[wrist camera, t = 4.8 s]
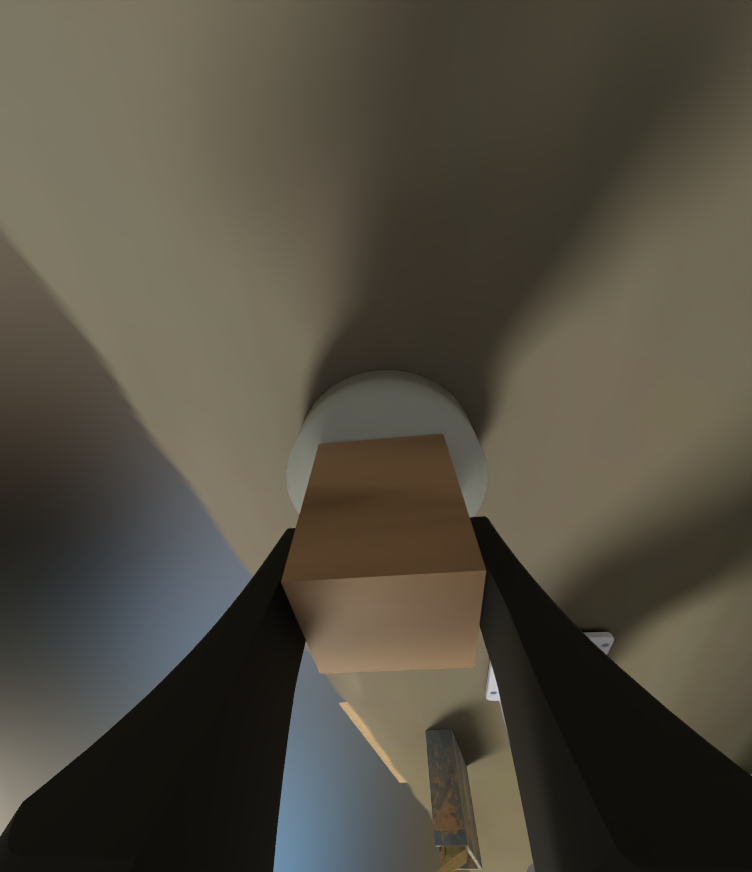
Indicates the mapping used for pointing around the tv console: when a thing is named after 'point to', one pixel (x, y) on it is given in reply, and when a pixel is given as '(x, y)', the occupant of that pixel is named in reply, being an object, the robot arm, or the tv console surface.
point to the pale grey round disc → (389, 426)
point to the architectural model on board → (442, 796)
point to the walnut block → (386, 559)
